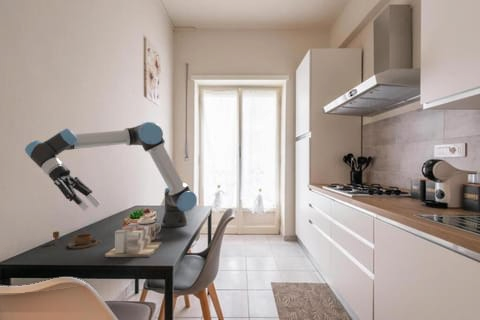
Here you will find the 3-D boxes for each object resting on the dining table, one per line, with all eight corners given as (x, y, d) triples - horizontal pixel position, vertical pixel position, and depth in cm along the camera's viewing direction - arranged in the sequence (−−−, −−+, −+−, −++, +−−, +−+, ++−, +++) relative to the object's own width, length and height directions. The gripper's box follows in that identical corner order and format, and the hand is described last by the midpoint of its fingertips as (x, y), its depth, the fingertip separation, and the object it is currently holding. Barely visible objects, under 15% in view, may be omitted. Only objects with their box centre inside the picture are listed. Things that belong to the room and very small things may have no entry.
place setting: (66, 253, 118) (66, 239, 118) (50, 245, 131) (50, 232, 131) (107, 244, 132) (107, 231, 132) (89, 237, 144) (89, 225, 144)
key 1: (118, 250, 116) (118, 229, 116) (127, 250, 116) (127, 229, 116) (114, 253, 113) (114, 231, 113) (123, 253, 113) (123, 231, 113)
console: (123, 244, 129) (123, 223, 129) (161, 244, 129) (161, 223, 129) (105, 256, 112) (105, 232, 112) (149, 256, 112) (149, 232, 112)
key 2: (130, 241, 129) (130, 223, 129) (138, 241, 129) (138, 223, 129) (127, 243, 126) (127, 224, 126) (135, 243, 126) (135, 224, 126)
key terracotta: (124, 245, 123) (124, 226, 123) (133, 245, 123) (133, 226, 123) (121, 248, 119) (121, 228, 119) (130, 248, 119) (130, 228, 119)
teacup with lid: (139, 243, 132) (139, 218, 132) (134, 238, 139) (134, 215, 139) (163, 239, 138) (163, 215, 139) (157, 235, 146) (157, 213, 146)
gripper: (65, 175, 132) (99, 209, 132) (32, 177, 111) (71, 217, 110) (77, 164, 132) (110, 197, 132) (45, 164, 111) (85, 204, 110)
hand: (92, 206), depth 121 cm, fingers open, 9 cm apart
